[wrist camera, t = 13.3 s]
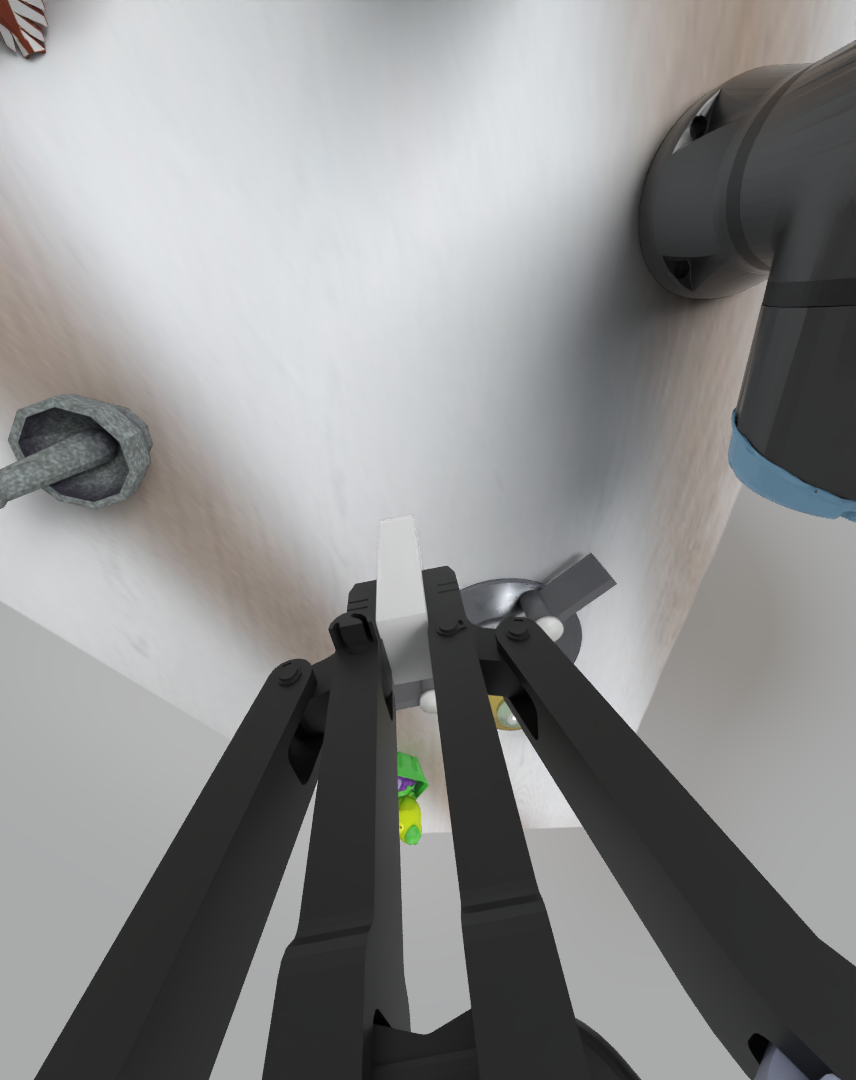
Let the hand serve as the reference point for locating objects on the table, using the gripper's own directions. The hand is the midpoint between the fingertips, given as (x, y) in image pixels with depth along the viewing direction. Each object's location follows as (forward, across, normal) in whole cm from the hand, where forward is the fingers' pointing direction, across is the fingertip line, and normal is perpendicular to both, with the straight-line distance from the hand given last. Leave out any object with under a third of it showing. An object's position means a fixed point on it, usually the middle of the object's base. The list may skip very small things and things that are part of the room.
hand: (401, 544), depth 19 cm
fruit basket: (+29, -12, -60) cm, 68 cm away
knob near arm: (+27, +16, -25) cm, 40 cm away
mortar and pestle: (+29, -28, +2) cm, 40 cm away
